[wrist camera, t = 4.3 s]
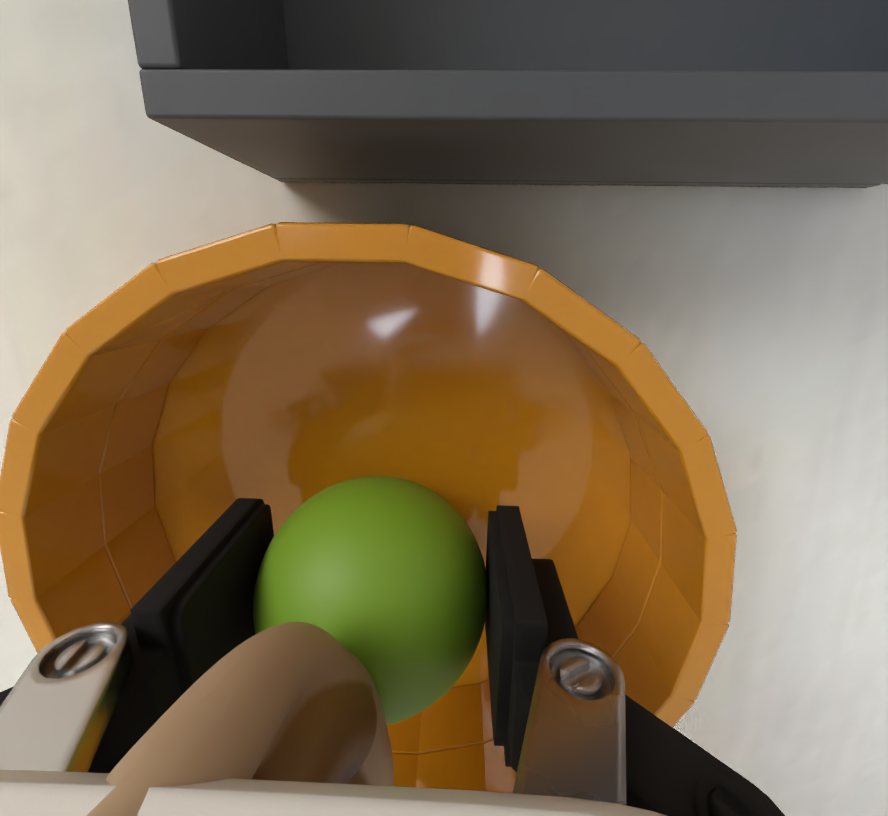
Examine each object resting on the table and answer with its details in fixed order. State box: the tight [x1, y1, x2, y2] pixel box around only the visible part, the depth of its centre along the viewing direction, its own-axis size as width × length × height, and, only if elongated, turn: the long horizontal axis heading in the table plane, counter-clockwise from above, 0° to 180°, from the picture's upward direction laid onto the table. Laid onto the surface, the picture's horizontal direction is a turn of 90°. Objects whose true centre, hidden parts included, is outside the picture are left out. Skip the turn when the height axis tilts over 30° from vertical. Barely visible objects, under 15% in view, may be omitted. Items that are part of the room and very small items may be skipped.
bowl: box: [0, 222, 737, 793], centre depth 12 cm, size 15×15×4 cm
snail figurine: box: [87, 476, 488, 816], centre depth 7 cm, size 5×6×12 cm
